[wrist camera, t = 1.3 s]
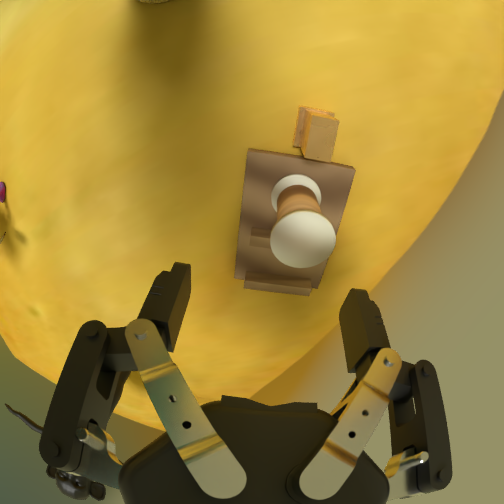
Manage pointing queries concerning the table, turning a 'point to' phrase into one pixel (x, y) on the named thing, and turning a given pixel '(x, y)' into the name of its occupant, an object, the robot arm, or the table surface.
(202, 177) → the table surface
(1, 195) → the toy
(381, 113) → the table surface
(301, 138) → the tan wooden block
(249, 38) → the table surface
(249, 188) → the board
